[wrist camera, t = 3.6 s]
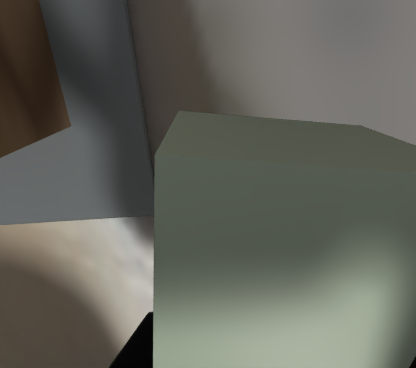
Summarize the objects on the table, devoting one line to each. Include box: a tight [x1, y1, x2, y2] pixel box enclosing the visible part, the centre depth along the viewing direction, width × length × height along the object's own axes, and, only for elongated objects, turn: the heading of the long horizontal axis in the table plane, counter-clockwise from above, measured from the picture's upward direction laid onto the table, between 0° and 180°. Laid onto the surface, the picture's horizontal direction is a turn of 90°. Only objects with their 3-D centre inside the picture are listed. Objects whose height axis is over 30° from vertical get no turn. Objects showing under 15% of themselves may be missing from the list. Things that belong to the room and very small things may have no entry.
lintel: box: [153, 111, 416, 368], centre depth 8 cm, size 5×12×4 cm, turn 175°
